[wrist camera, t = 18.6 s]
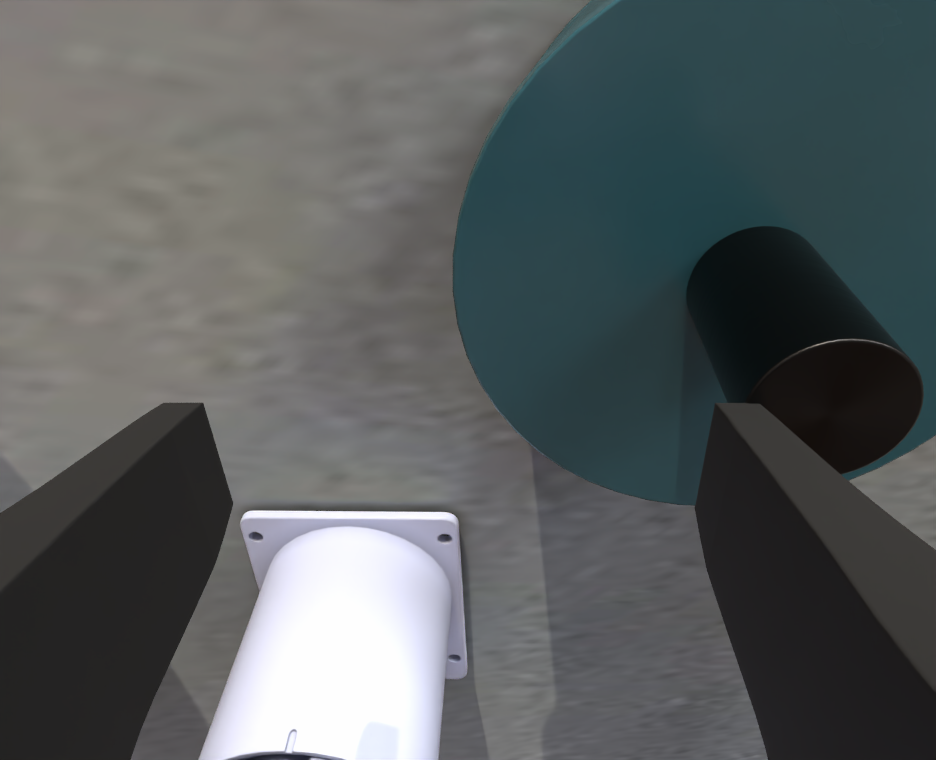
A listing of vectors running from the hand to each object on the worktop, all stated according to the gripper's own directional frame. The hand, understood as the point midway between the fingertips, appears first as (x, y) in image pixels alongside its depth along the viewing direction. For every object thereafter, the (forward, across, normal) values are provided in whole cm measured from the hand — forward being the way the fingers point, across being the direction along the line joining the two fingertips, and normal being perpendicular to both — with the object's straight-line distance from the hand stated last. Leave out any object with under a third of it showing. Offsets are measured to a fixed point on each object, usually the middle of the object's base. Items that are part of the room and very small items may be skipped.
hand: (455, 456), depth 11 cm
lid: (+4, -5, -1) cm, 7 cm away
